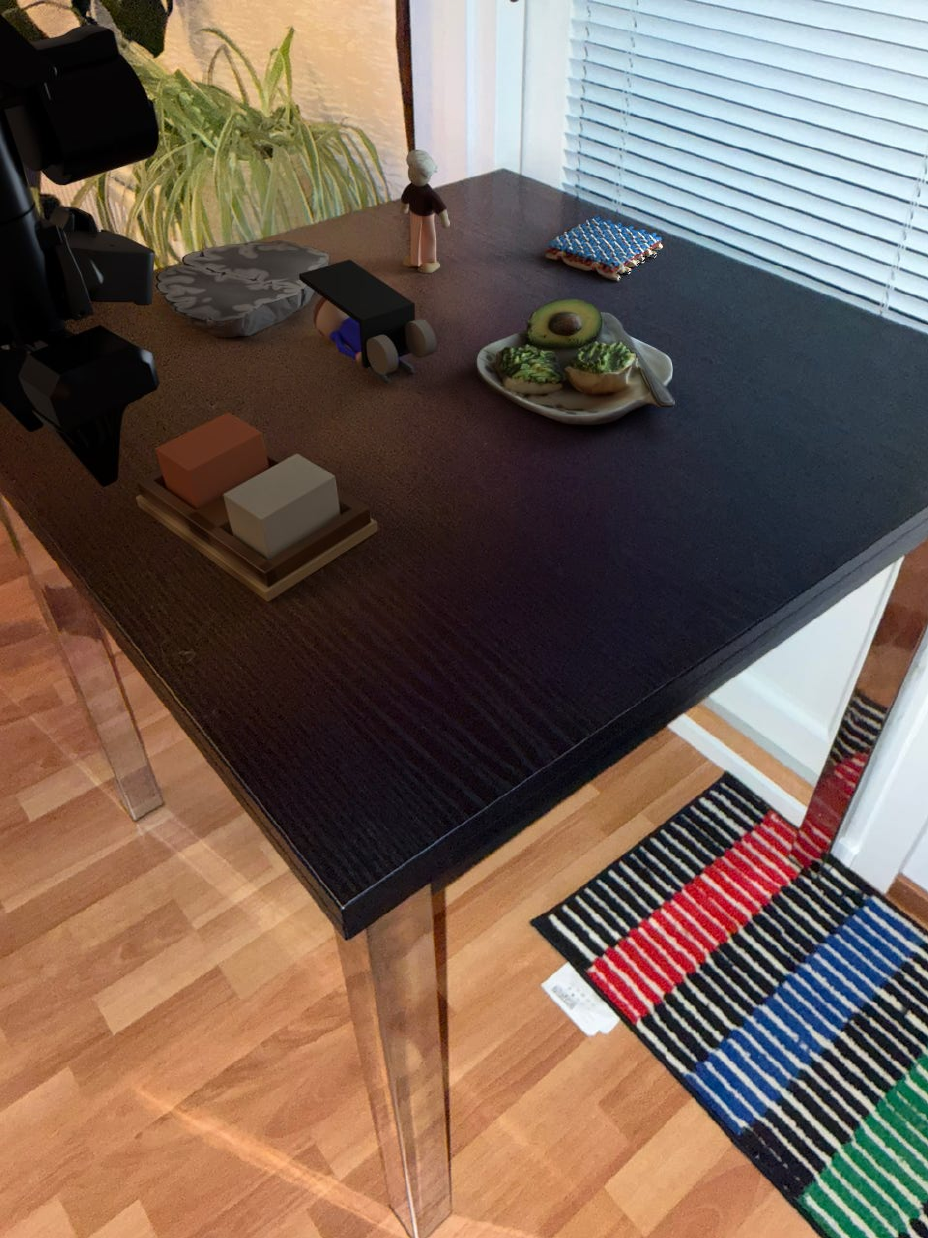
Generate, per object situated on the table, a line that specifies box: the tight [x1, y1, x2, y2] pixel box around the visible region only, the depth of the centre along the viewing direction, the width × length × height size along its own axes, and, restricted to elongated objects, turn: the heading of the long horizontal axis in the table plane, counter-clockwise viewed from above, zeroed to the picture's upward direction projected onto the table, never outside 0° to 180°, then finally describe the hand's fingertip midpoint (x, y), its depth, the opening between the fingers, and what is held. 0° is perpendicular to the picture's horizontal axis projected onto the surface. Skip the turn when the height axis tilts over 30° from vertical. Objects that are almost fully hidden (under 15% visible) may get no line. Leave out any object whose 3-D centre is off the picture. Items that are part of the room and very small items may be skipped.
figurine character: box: [299, 259, 437, 385], centre depth 90 cm, size 7×8×15 cm
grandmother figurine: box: [399, 149, 451, 274], centre depth 103 cm, size 8×4×13 cm, turn 57°
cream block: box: [223, 453, 340, 560], centre depth 70 cm, size 7×4×4 cm, turn 137°
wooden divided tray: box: [135, 443, 378, 603], centre depth 74 cm, size 17×11×2 cm, turn 47°
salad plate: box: [475, 298, 676, 426], centre depth 87 cm, size 19×18×5 cm
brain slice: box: [154, 240, 330, 339], centre depth 101 cm, size 20×17×3 cm
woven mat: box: [545, 216, 664, 282], centre depth 108 cm, size 10×11×2 cm
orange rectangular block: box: [154, 412, 269, 510], centre depth 74 cm, size 7×4×4 cm, turn 137°
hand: (71, 454), depth 60 cm, fingers open, 9 cm apart
